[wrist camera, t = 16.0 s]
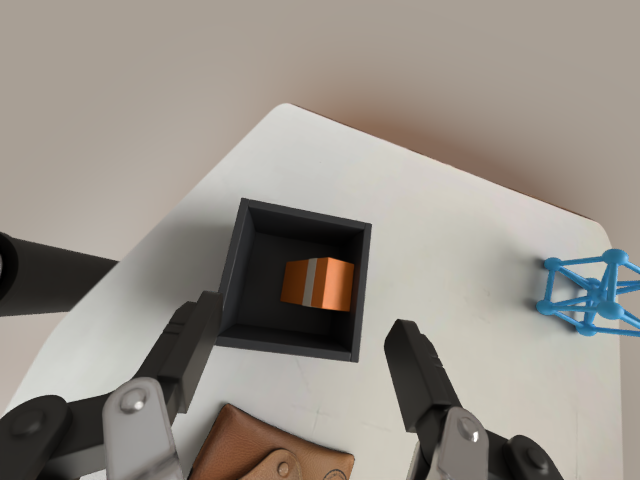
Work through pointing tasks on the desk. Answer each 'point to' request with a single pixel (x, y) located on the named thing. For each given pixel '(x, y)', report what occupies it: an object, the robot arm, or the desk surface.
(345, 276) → the block
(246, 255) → the dark grey storage bin
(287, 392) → the desk surface
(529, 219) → the desk surface
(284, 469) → the sunglasses case
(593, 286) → the molecular structure
